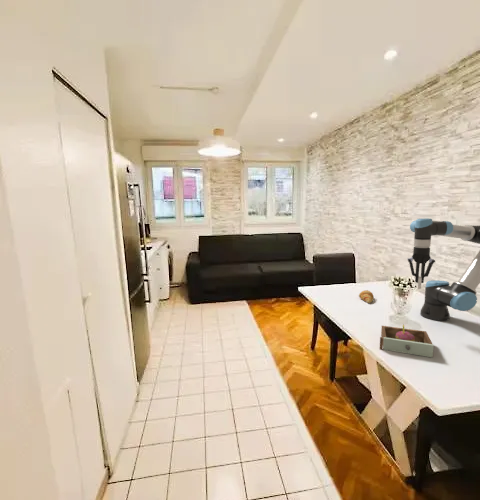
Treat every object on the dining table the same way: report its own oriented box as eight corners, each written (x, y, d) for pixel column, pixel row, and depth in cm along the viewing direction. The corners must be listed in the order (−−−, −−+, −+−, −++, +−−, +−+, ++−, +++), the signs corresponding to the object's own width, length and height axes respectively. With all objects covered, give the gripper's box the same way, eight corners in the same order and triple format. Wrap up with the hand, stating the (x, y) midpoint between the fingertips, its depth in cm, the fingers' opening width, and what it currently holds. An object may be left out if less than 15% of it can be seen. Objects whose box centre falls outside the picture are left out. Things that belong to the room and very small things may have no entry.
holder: (425, 342, 139) (426, 331, 138) (432, 357, 125) (433, 345, 124) (377, 335, 148) (378, 325, 147) (379, 349, 134) (380, 338, 133)
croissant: (373, 308, 194) (379, 299, 192) (360, 302, 196) (366, 293, 194) (366, 298, 215) (372, 290, 213) (355, 292, 216) (360, 284, 214)
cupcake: (407, 351, 131) (409, 328, 129) (391, 343, 139) (392, 322, 137) (417, 346, 135) (419, 324, 133) (401, 339, 143) (402, 318, 141)
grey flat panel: (431, 356, 126) (432, 344, 125) (433, 359, 124) (434, 347, 123) (383, 348, 134) (383, 337, 133) (383, 350, 132) (384, 339, 131)
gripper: (434, 246, 147) (431, 287, 151) (406, 245, 152) (404, 285, 156) (438, 248, 140) (434, 291, 144) (409, 247, 146) (406, 289, 149)
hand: (418, 288), depth 150 cm, fingers closed
